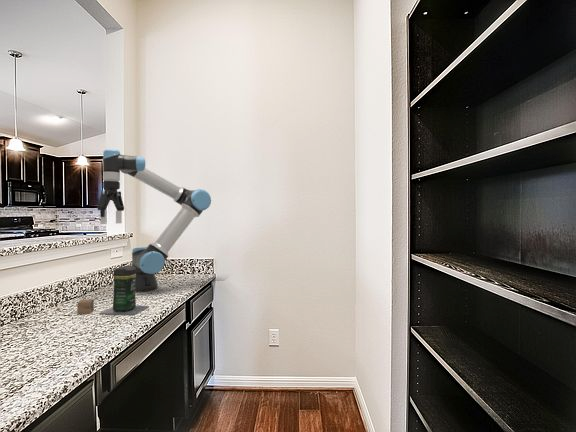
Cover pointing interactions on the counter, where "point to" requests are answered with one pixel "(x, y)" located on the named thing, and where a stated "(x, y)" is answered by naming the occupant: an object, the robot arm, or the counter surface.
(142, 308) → the plate
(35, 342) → the counter surface
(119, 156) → the robot arm
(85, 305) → the walnut block
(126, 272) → the coffee jar
